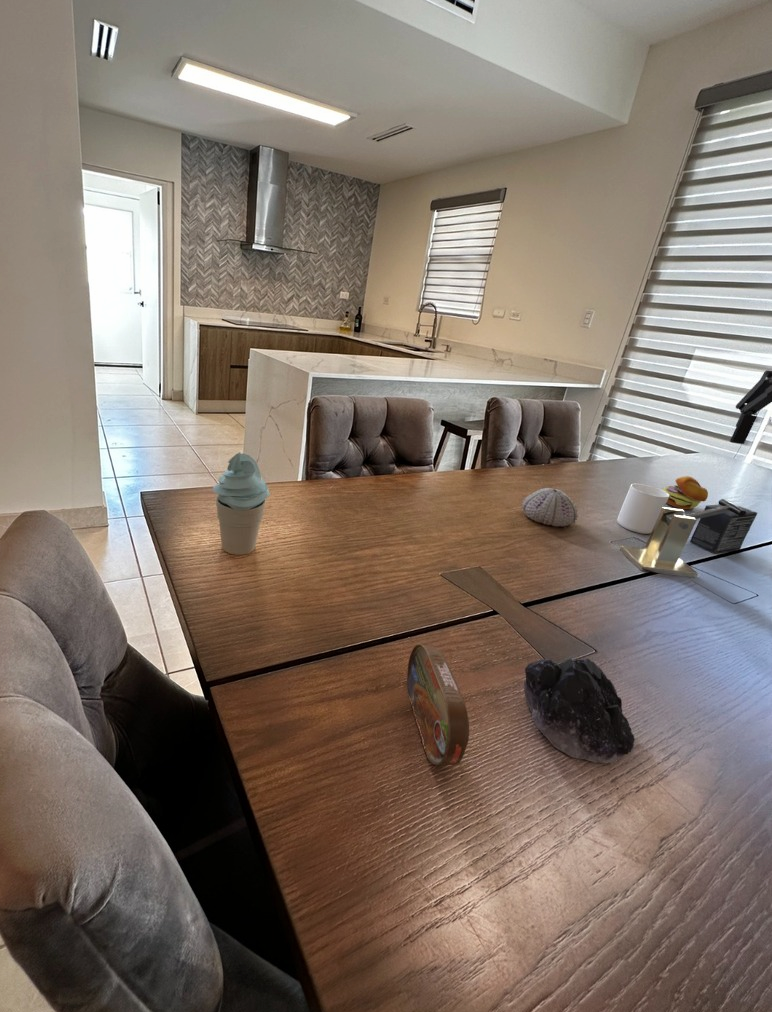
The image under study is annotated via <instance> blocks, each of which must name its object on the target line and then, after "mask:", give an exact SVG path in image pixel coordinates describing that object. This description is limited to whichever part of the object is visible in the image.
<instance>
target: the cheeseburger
mask: <svg viewBox="0 0 772 1012" xmlns="http://www.w3.org/2000/svg"><path fill="white" fill-rule="evenodd" d="M675 483H676V485H669V486H665V487H664V488H663V489H661V490H663V491H665V492H667V493H668V494H669V498H668V501H667V503H666V504H668V505H670V506H672V507H674V508H675V509H681V510H693V509H694V508H696V507H698V505H700V503H702V502H706V501H707V499H708V497H709V492H708V490H707V488H706V487H702V485H700V483H699V482H698V480H696V479H695V478H694V477H692V476H688V475H686V476H680V477H677V478H676V479H675Z"/></svg>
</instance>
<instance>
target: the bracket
mask: <svg viewBox="0 0 772 1012" xmlns="http://www.w3.org/2000/svg"><path fill="white" fill-rule="evenodd" d="M678 512H680V513H682V514H683V515H685V513H686V512H685V509H681V508H675V507H674V508H673V507H666V506H665V507H662V509H661V511H660V514H659V516H658V518H657V521H656V523H655V525H654V527H653V530H652V532H651V533H650V534H649V537H648V539H647V542H646V544H645V546H644V548H642V547H634V546H626V545H621V546H620V549H619V551H620V552H621V553H622V554H623V555H624V556H625V557H626V558H627V559H628V560H629V561H630V562H631V563H632V564H633V565H634V566H635V567H636V568H638V569H639V571H641V572H647V573H654V574H655V573H656V574H663V575H670V576H677V577H685V578H692V579H697V577H698V576H699V572H697V571H696V570H695V569H694V568H693V567H691V566H690V565H689V564H687V562H685V561H684V560H683V559H682V558H680V557H681V555H682V553H683V550H684V548H685V546H686V545H687V542H688V540H689V538H690V536H691V534H692V533H693V529H694V527H695V525H696V524H697V520H698V519H696V518H694V517H686V516H678V515H673V518H672V520H671V522H670V524H669V526H668V525H667V524H666V515H669V514H673V513H678Z"/></svg>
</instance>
